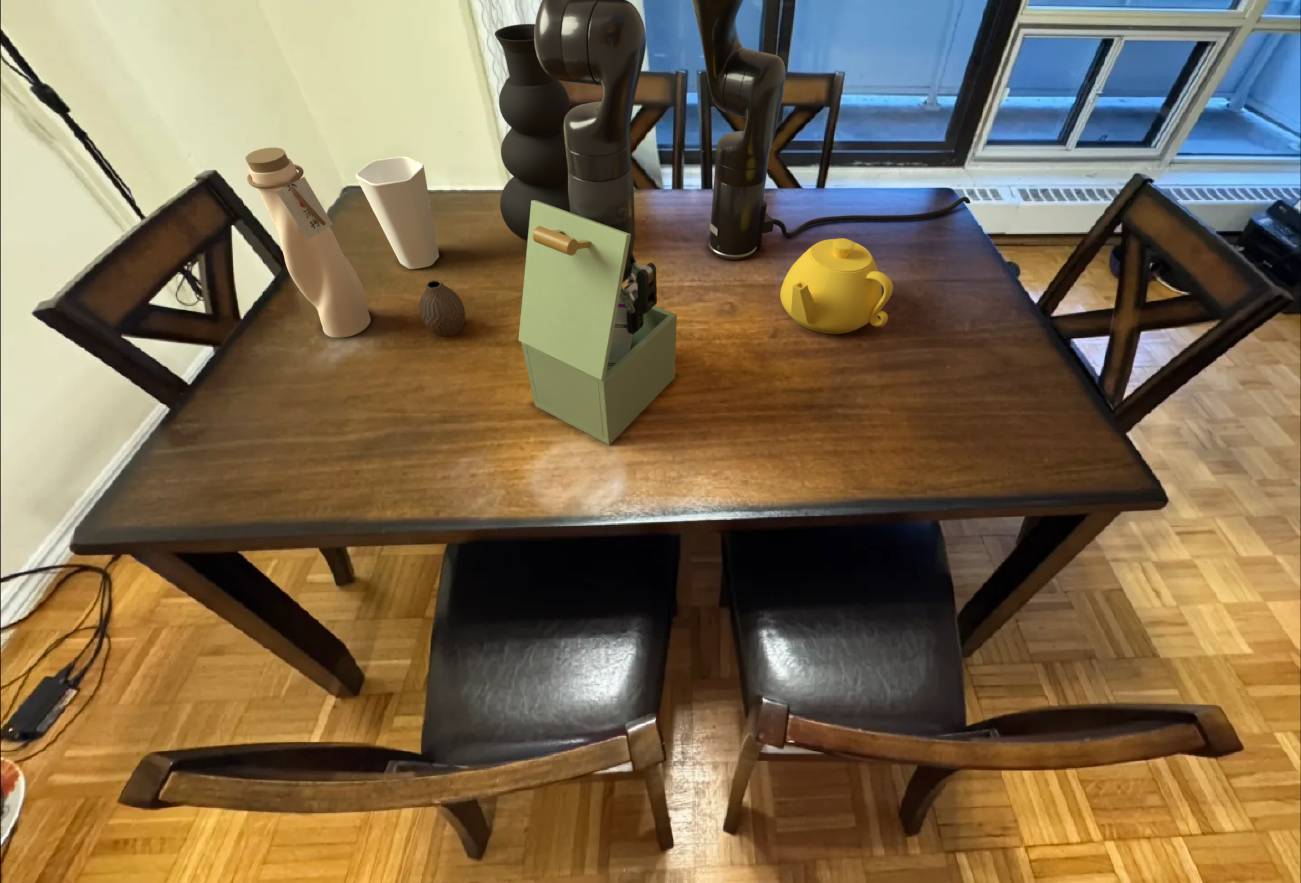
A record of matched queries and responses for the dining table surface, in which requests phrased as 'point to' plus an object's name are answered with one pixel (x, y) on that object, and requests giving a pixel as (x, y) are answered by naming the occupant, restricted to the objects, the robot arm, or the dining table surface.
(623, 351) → the syrup box
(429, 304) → the vase
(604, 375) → the lid
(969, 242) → the dining table surface
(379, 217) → the cup
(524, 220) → the vase
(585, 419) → the chest
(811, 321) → the teapot
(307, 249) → the water bottle
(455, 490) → the dining table surface
